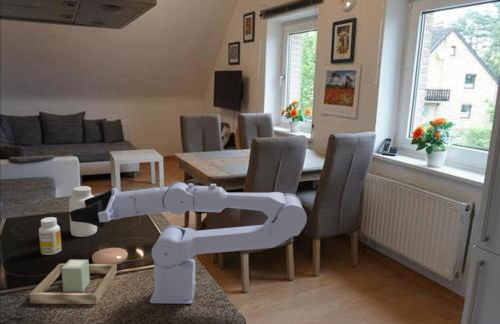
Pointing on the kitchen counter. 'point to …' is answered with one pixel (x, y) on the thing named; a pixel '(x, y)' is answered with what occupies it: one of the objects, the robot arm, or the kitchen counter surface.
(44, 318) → the kitchen counter surface
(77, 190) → the pill bottle
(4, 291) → the kitchen counter surface
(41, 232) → the supplement bottle
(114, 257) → the coaster
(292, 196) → the robot arm
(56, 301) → the crate frame
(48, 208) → the kitchen counter surface
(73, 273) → the block
